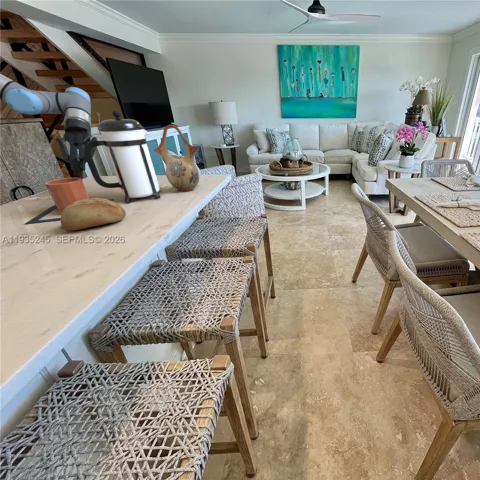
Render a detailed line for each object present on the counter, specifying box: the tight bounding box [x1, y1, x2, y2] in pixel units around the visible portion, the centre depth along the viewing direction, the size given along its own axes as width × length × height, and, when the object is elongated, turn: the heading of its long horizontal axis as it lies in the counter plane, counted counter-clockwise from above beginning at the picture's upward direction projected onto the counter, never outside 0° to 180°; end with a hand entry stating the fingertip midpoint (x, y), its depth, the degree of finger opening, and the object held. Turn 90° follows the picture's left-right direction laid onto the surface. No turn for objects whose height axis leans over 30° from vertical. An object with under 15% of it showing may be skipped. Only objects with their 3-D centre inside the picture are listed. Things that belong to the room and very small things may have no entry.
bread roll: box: [59, 197, 127, 231], centre depth 76 cm, size 10×15×8 cm, turn 125°
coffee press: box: [84, 109, 161, 204], centre depth 94 cm, size 17×16×30 cm
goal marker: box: [24, 198, 114, 225], centre depth 89 cm, size 18×18×1 cm
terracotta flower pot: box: [44, 177, 90, 215], centre depth 87 cm, size 9×9×10 cm
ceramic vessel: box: [153, 124, 200, 192], centre depth 104 cm, size 16×9×25 cm, turn 99°
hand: (78, 177), depth 95 cm, fingers closed
